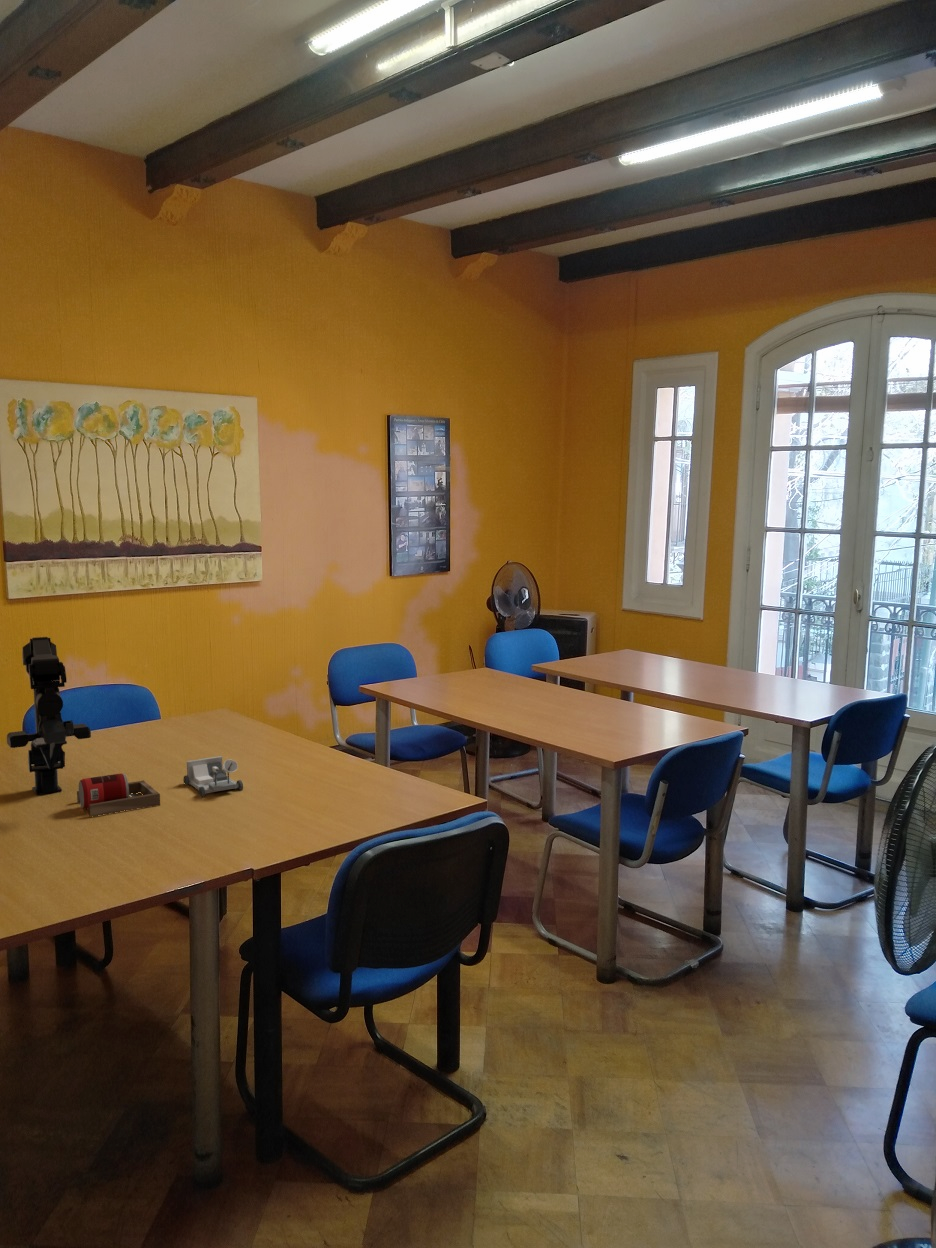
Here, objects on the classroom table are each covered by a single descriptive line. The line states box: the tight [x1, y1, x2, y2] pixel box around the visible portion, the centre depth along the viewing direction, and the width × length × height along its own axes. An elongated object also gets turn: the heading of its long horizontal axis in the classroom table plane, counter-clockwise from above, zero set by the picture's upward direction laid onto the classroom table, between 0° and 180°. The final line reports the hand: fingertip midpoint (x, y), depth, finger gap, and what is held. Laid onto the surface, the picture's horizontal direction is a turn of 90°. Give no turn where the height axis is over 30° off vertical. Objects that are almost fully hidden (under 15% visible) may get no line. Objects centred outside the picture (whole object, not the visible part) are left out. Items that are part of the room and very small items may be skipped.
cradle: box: [76, 779, 161, 818], centre depth 250 cm, size 14×17×3 cm
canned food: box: [78, 772, 129, 810], centre depth 246 cm, size 8×8×11 cm
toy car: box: [182, 755, 244, 798], centre depth 263 cm, size 18×10×12 cm
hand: (50, 768), depth 239 cm, fingers closed
